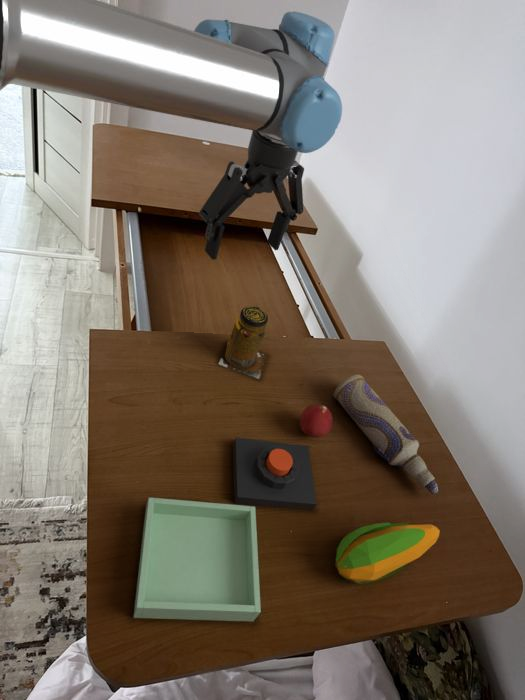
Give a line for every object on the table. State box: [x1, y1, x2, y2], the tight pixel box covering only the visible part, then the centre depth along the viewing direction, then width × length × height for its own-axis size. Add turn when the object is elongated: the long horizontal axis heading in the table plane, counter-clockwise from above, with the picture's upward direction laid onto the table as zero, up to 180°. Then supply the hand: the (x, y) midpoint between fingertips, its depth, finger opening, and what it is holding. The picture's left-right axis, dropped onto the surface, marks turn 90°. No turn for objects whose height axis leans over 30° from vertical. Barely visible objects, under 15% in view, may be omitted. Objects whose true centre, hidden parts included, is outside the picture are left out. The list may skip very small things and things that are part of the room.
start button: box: [266, 449, 293, 476], centre depth 81 cm, size 4×4×2 cm
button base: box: [232, 437, 318, 511], centre depth 82 cm, size 13×11×4 cm
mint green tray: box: [133, 497, 262, 623], centre depth 69 cm, size 16×15×4 cm
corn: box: [335, 521, 441, 585], centre depth 77 cm, size 7×8×20 cm
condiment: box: [218, 305, 269, 380], centre depth 97 cm, size 7×8×12 cm
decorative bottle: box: [332, 374, 440, 495], centre depth 93 cm, size 26×8×7 cm, turn 33°
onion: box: [299, 403, 334, 438], centre depth 90 cm, size 6×6×8 cm
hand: (242, 250), depth 90 cm, fingers open, 13 cm apart
